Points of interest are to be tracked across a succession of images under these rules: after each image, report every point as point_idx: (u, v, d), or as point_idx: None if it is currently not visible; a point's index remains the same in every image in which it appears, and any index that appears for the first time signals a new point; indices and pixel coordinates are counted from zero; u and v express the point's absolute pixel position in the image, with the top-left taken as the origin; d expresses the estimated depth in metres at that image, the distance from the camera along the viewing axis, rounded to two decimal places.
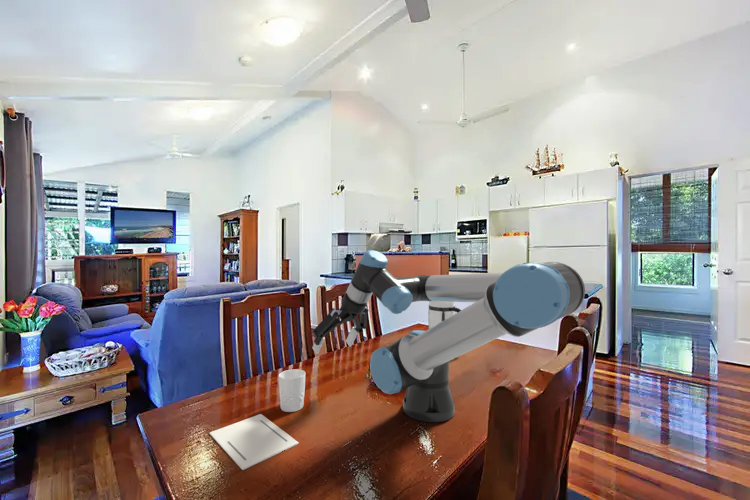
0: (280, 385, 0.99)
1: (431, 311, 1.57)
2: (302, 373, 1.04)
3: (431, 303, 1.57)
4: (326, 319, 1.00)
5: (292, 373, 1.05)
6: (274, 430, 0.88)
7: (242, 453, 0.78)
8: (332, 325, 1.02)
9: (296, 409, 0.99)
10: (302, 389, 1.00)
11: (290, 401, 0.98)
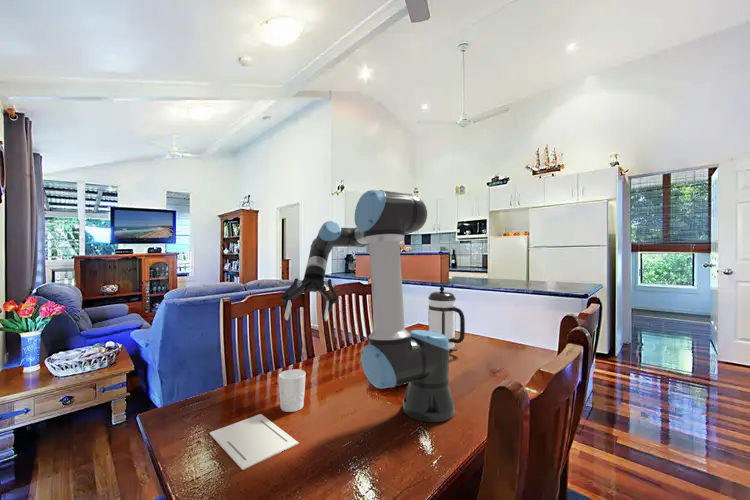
0: (280, 385, 0.99)
1: (431, 311, 1.57)
2: (302, 373, 1.04)
3: (431, 303, 1.57)
4: None
5: (292, 373, 1.05)
6: (274, 430, 0.88)
7: (242, 453, 0.78)
8: None
9: (296, 409, 0.99)
10: (302, 389, 1.00)
11: (290, 401, 0.98)
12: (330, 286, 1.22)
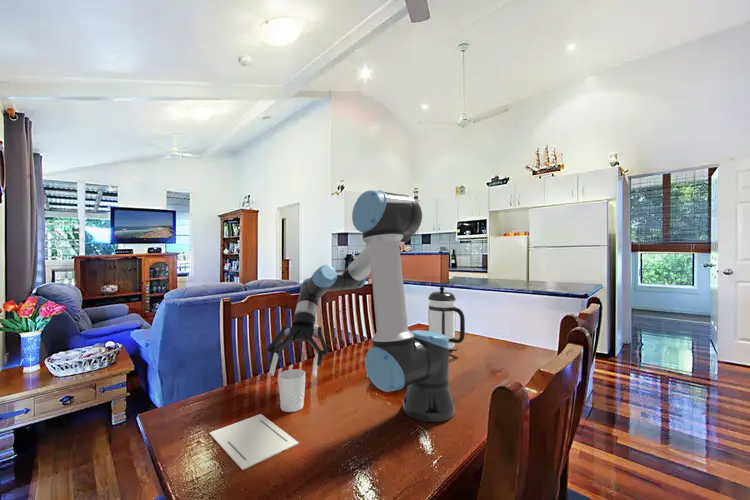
0: (280, 385, 0.99)
1: (431, 311, 1.57)
2: (302, 373, 1.04)
3: (431, 303, 1.57)
4: None
5: (292, 373, 1.05)
6: (274, 430, 0.88)
7: (242, 453, 0.78)
8: None
9: (296, 409, 0.99)
10: (302, 389, 1.00)
11: (290, 401, 0.98)
12: (320, 336, 1.13)
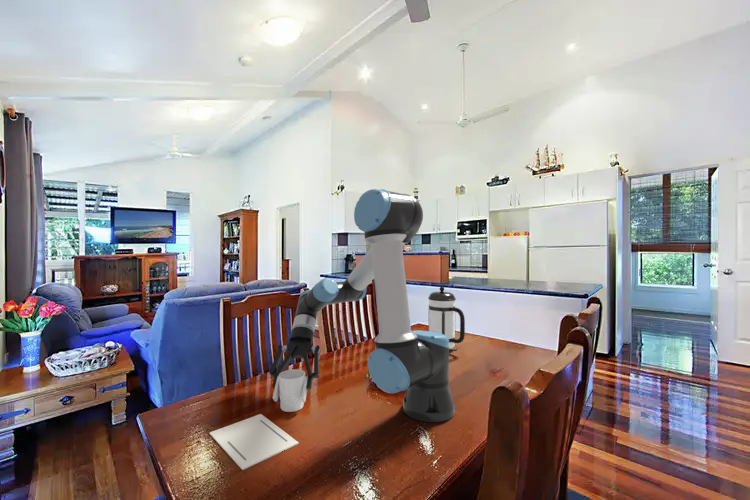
0: (280, 385, 0.99)
1: (431, 311, 1.57)
2: (302, 373, 1.04)
3: (431, 303, 1.57)
4: None
5: (292, 373, 1.05)
6: (274, 430, 0.88)
7: (242, 453, 0.78)
8: None
9: (296, 409, 0.99)
10: (302, 389, 1.00)
11: (290, 401, 0.98)
12: (315, 355, 1.06)
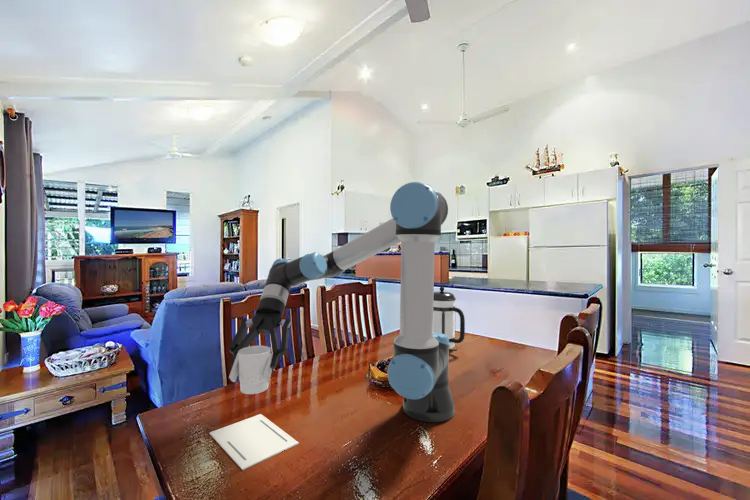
0: (239, 362, 0.83)
1: None
2: (267, 350, 0.88)
3: None
4: None
5: (256, 350, 0.89)
6: (274, 430, 0.88)
7: (242, 453, 0.78)
8: None
9: (258, 391, 0.83)
10: (265, 367, 0.84)
11: (250, 381, 0.82)
12: (284, 329, 0.91)
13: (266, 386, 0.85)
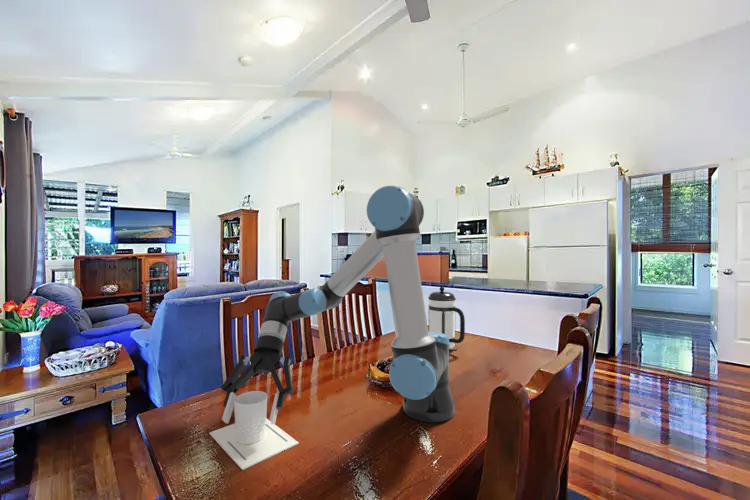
0: (235, 412, 0.82)
1: (431, 311, 1.57)
2: (264, 396, 0.87)
3: (431, 303, 1.57)
4: None
5: (252, 395, 0.88)
6: (274, 430, 0.88)
7: (242, 453, 0.78)
8: None
9: (254, 440, 0.82)
10: (262, 416, 0.83)
11: (247, 431, 0.81)
12: (285, 368, 0.90)
13: (263, 434, 0.84)
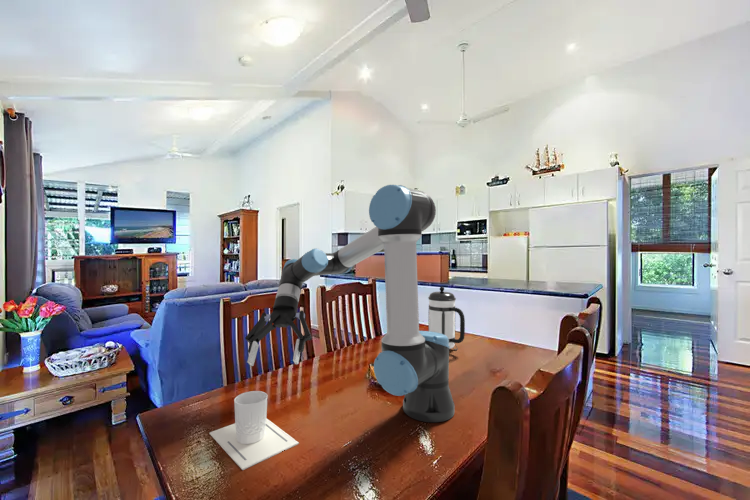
0: (235, 411, 0.82)
1: (431, 311, 1.57)
2: (264, 396, 0.87)
3: (431, 303, 1.57)
4: None
5: (253, 395, 0.88)
6: (274, 430, 0.88)
7: (242, 453, 0.78)
8: None
9: (254, 440, 0.82)
10: (262, 416, 0.83)
11: (247, 431, 0.81)
12: (302, 320, 1.03)
13: (263, 434, 0.84)
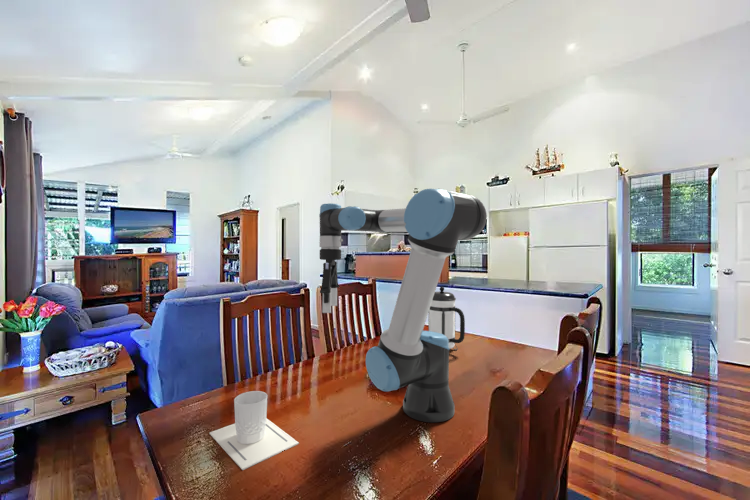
0: (235, 411, 0.82)
1: (431, 311, 1.57)
2: (264, 396, 0.87)
3: (431, 303, 1.57)
4: None
5: (253, 395, 0.88)
6: (274, 430, 0.88)
7: (242, 453, 0.78)
8: None
9: (254, 440, 0.82)
10: (262, 416, 0.83)
11: (247, 431, 0.81)
12: None
13: (263, 434, 0.84)
